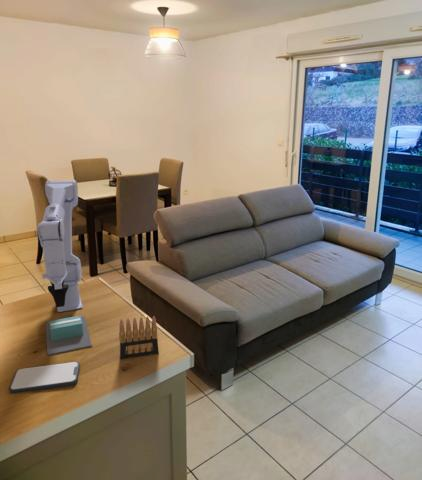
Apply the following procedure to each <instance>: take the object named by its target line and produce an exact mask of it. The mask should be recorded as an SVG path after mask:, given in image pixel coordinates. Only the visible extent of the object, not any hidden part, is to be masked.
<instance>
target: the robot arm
mask: <svg viewBox="0 0 422 480" xmlns="http://www.w3.org/2000/svg"><path fill="white" fill-rule="evenodd" d="M44 191H45V196H46V198H47V201H48V203H49V205H47V206H46V208H45V209H44V214H43V218H42V221H41V222H39V223H38V225H37V234H38V236H37V237H38V238H39V243H40V246H41V248H42V252H43V259H44V260H43V261H44V267H45V273H42V275H41V277H42V279H47V280H48V281H49V283H50V285H48V286H47V290H48V292H49V293H50V295H51V297H52V298H53V301H54V304H55V307H56V308H57V313H63V312H68V311H74V310H79V309H82V308H83V304H82V299H81V296H80V289H79V282H80V281H81V280H82V278H83V277H82V275H83V271H82V269H83V268H82V262H81V260H80V258H79V257H77V256H76V255H74V254H73V228H72V227H73V226H72V222H73V218H72V213H73V210H74V208H75V207H76V206H78V203H79V187H78V183H77V181H76V179H72V180H71V179H69V180H68V179H67V180H66V179H65V180H47V181H45V184H44Z"/></svg>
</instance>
